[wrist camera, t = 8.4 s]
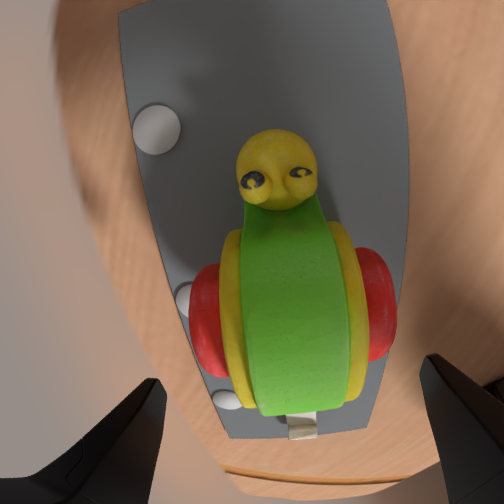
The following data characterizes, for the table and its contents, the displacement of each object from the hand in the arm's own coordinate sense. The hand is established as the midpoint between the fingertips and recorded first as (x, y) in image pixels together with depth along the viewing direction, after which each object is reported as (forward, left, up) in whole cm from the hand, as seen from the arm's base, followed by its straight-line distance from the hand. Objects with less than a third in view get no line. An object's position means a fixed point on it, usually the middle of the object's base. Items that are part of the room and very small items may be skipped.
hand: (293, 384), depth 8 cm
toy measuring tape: (-3, 0, -6) cm, 6 cm away
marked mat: (0, 0, -6) cm, 6 cm away
